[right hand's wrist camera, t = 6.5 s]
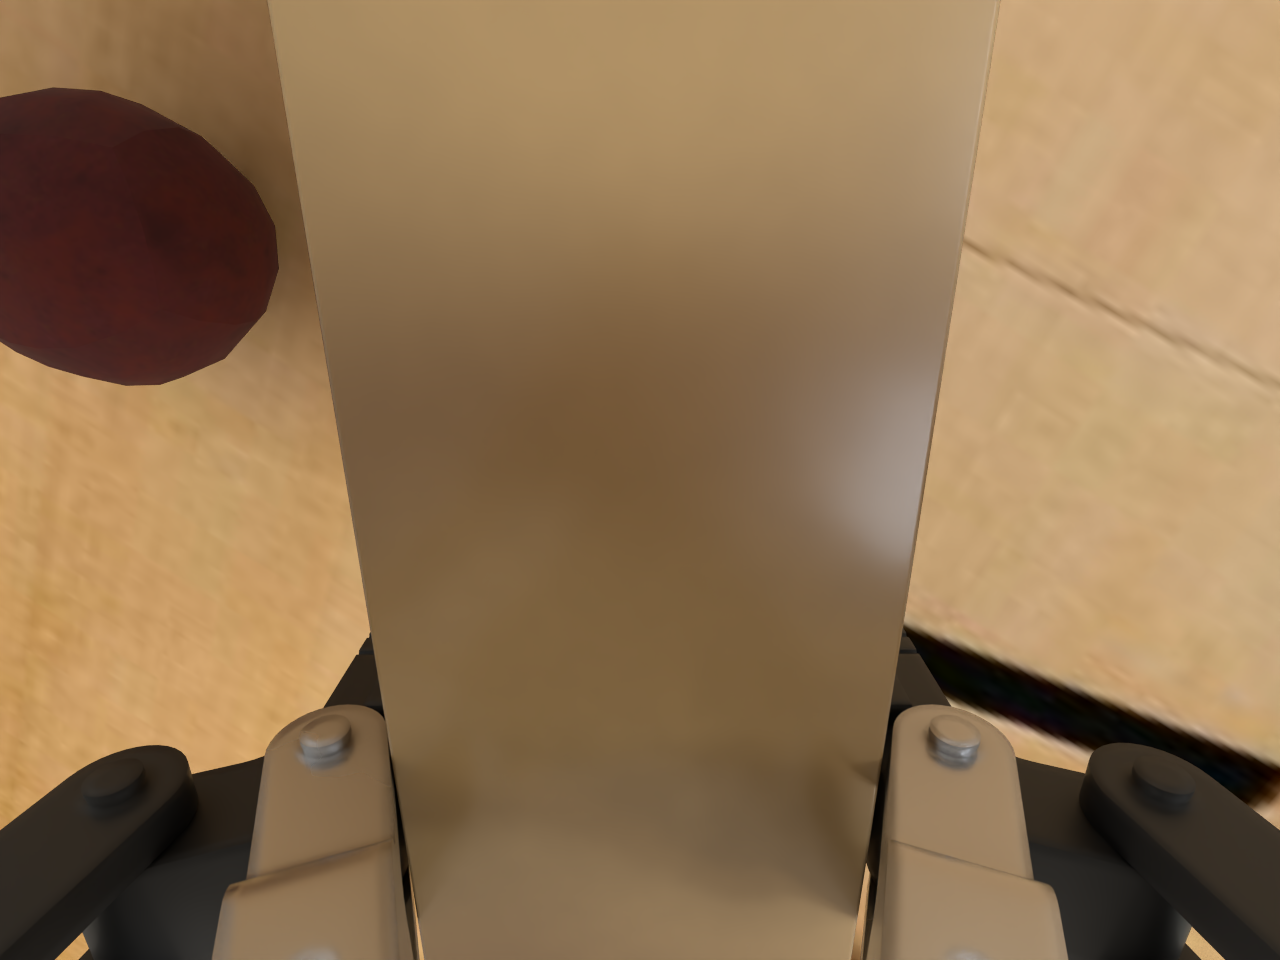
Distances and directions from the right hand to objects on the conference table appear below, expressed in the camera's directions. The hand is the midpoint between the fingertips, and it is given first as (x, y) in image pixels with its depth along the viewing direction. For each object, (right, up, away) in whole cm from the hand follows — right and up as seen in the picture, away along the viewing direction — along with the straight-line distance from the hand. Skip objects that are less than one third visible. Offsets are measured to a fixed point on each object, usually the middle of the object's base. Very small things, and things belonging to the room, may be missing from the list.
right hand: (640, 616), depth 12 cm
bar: (0, +10, +1) cm, 10 cm away
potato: (-14, +10, +10) cm, 20 cm away
